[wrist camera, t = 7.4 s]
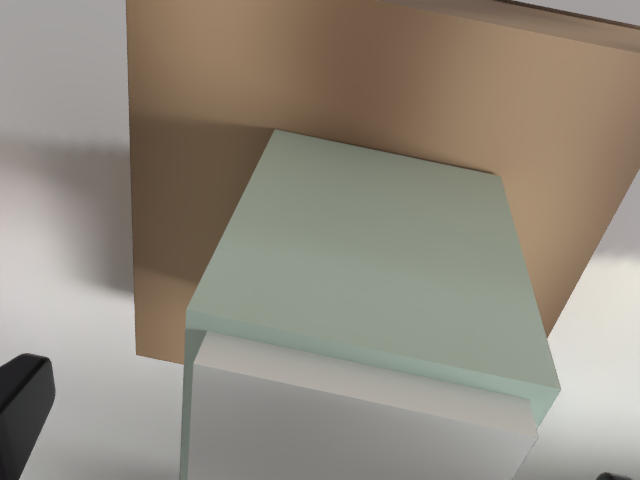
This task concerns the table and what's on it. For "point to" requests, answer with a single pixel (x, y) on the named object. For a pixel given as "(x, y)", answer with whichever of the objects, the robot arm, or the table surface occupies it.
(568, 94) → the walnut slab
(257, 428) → the sage box
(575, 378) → the table surface
